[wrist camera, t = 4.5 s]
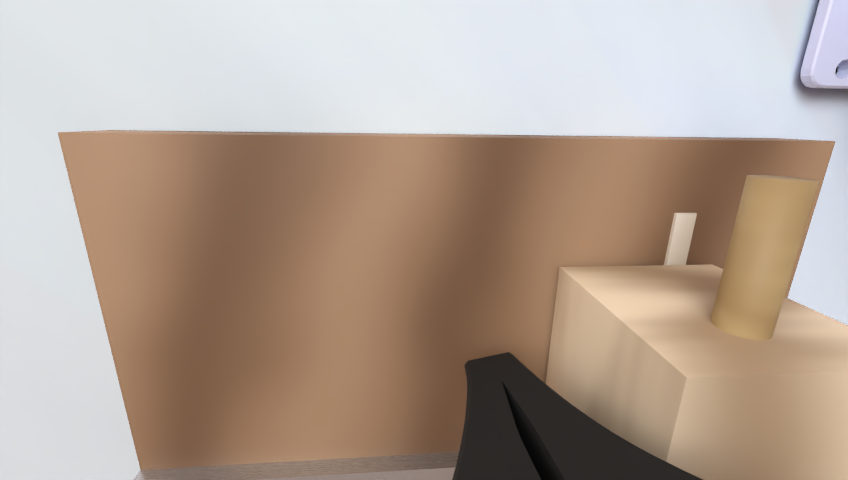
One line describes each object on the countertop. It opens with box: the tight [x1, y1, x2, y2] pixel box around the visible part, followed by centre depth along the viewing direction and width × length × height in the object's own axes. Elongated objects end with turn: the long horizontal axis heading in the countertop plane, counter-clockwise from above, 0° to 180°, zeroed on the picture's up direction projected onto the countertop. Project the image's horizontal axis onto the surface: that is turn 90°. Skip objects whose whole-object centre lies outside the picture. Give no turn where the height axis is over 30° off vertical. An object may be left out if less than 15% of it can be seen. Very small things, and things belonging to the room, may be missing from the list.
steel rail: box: [134, 452, 459, 480], centre depth 13 cm, size 20×1×1 cm, turn 89°
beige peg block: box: [545, 175, 848, 480], centre depth 9 cm, size 5×9×5 cm, turn 179°
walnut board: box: [58, 130, 835, 470], centre depth 13 cm, size 20×15×2 cm
